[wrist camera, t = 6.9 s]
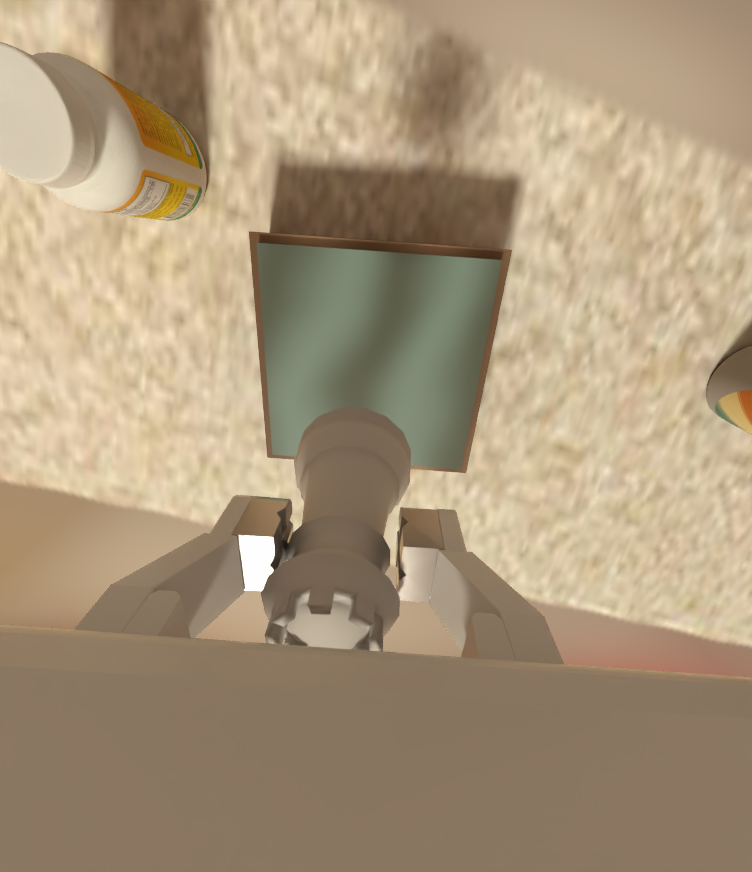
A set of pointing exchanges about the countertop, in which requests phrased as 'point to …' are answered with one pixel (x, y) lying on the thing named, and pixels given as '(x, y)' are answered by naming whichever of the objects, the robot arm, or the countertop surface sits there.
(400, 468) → the rook chess piece
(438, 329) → the walnut plinth
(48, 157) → the supplement bottle
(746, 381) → the lotion bottle
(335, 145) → the countertop surface
